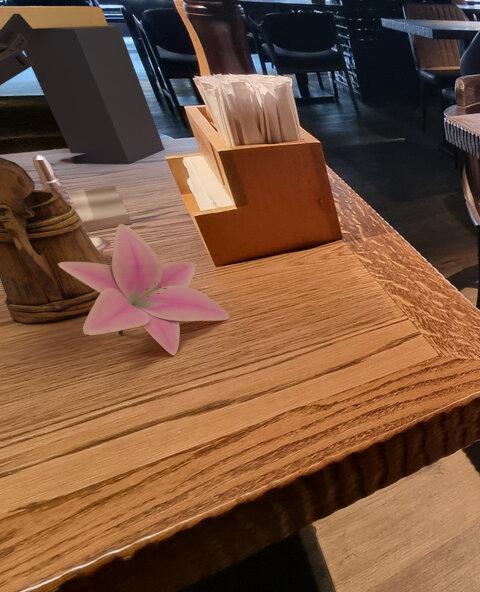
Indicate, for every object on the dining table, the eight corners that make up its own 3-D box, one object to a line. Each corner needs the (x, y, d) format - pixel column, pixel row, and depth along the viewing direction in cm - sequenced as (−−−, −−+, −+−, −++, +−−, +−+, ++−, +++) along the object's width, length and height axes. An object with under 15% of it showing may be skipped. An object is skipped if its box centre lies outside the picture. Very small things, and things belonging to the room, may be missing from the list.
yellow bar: (-11, 30, 78) (-22, 7, 76) (-29, 29, 78) (-40, 6, 77) (108, 25, 94) (101, 7, 93) (93, 25, 94) (85, 6, 93)
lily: (84, 401, 43) (106, 313, 40) (14, 314, 46) (30, 224, 43) (233, 364, 54) (260, 292, 51) (169, 295, 57) (191, 223, 54)
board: (48, 204, 78) (44, 195, 77) (117, 194, 83) (113, 185, 82) (54, 237, 68) (49, 227, 67) (132, 223, 73) (128, 213, 72)
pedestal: (129, 164, 97) (74, 28, 86) (75, 163, 96) (12, 26, 85) (164, 149, 106) (118, 25, 95) (115, 149, 105) (63, 23, 94)
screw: (100, 251, 65) (126, 258, 64) (53, 266, 61) (79, 275, 60) (50, 146, 59) (77, 152, 57) (-6, 156, 55) (22, 162, 53)
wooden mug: (-12, 358, 46) (-147, 155, 37) (21, 293, 56) (-80, 120, 47) (118, 329, 51) (25, 142, 42) (128, 274, 60) (54, 113, 51)
